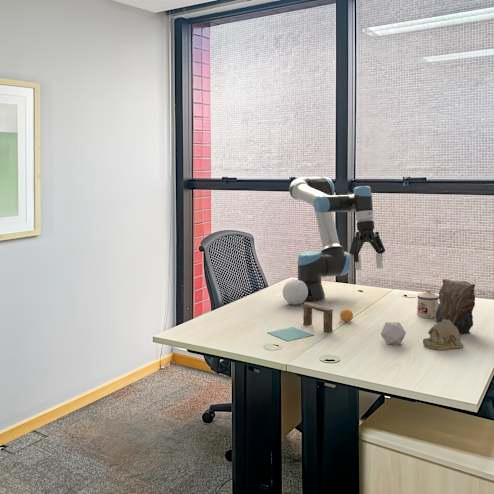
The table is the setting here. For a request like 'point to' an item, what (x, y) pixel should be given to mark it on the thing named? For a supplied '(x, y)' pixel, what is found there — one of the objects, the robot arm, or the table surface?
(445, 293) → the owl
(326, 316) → the bridge
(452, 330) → the ceramic model
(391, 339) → the die
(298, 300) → the decorative ball
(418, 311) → the teacup with lid
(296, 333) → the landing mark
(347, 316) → the ball
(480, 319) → the table surface
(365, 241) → the robot arm
